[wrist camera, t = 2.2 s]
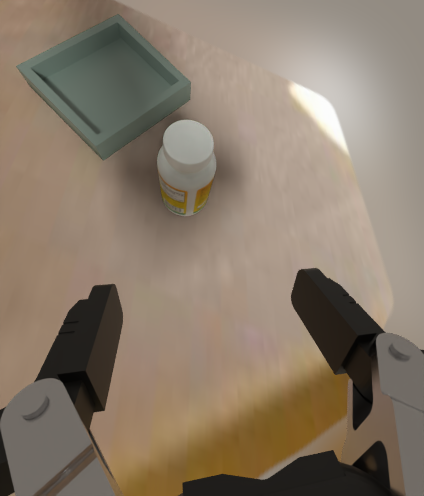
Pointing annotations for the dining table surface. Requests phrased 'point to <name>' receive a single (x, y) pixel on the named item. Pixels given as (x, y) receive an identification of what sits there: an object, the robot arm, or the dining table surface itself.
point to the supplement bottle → (186, 167)
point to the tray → (107, 84)
